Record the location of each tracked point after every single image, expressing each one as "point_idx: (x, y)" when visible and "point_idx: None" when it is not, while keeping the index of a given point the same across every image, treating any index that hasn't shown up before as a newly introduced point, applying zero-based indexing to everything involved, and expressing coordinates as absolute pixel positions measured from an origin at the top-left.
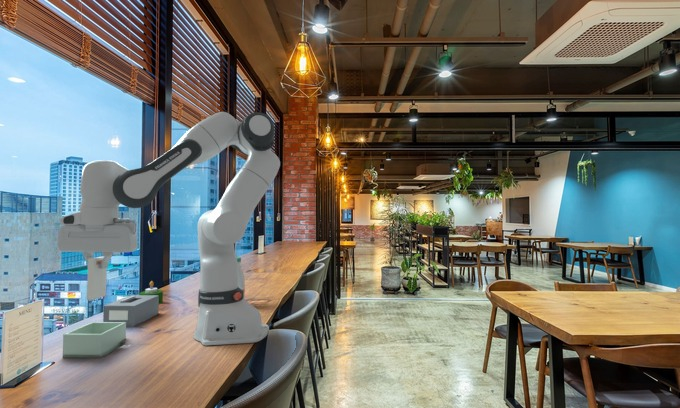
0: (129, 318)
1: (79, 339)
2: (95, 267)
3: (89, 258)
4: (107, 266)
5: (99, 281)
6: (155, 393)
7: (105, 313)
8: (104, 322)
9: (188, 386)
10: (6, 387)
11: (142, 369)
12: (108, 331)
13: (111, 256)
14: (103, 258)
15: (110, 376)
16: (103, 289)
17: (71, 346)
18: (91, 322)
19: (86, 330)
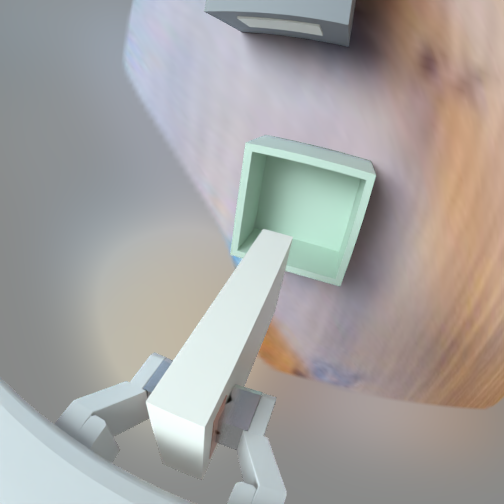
0: (329, 34)
1: None
2: None
3: (125, 422)
4: (274, 404)
5: (260, 332)
6: (451, 393)
7: (225, 18)
8: (294, 157)
9: (487, 384)
10: None
11: (438, 329)
12: (349, 259)
13: (281, 483)
14: (245, 482)
15: (389, 342)
16: (281, 273)
17: None
18: (246, 147)
19: (253, 174)
